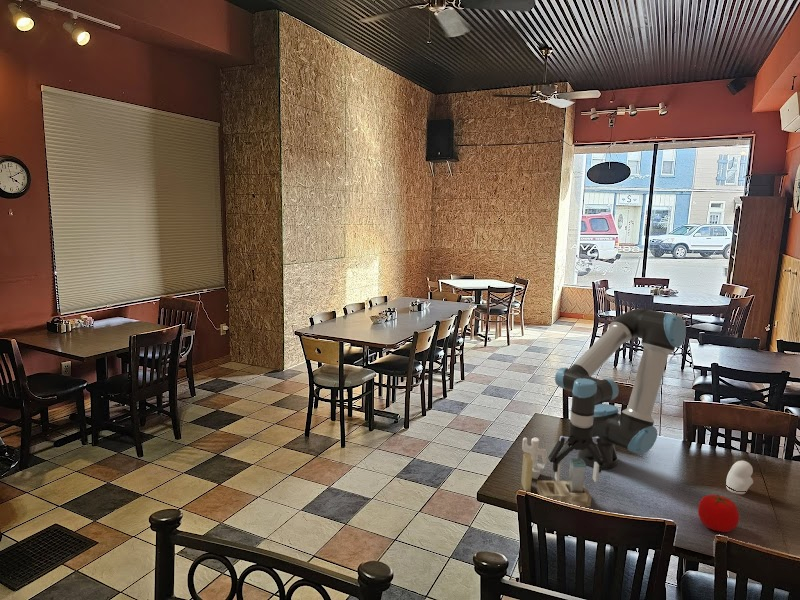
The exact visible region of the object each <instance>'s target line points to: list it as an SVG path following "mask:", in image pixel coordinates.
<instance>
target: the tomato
mask: <svg viewBox="0 0 800 600" xmlns="http://www.w3.org/2000/svg"><path fill="white" fill-rule="evenodd" d="M697 508H698V510H697V513H698V517H699V520H700V521H701V523H702V524H703V525H704V526H705V527H706V528H708V529H711V530H713V531H716V530H717V531H716V532H719V533H726V532H727V533H728V532H731V531H733V530H734V529H735V528H736V527H737V525H738V524H739V521H740V513H739V510H738V507H737V506H736V504H735V502H734V501H733V500H731V499H730V498H728V497H725V496H723V495H719V494H708V495H704V496H703V497H702V498H701V500H699V504H698V507H697ZM720 531H721V532H720Z"/></svg>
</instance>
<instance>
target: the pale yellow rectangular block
mask: <svg viewBox="0 0 800 600" xmlns="http://www.w3.org/2000/svg"><path fill="white" fill-rule="evenodd" d="M522 455H523V456H522V467H521V470H522V471H521V478H520V479H521V481H520V483H521V486H522V488H523V491H524V492H525V491H527V492H526V493H531V492H532V491H531V489H532V479H533V478H532V467H533V460H532V459H531V454H530V453H527V452H524V453H523V454H522Z"/></svg>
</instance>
